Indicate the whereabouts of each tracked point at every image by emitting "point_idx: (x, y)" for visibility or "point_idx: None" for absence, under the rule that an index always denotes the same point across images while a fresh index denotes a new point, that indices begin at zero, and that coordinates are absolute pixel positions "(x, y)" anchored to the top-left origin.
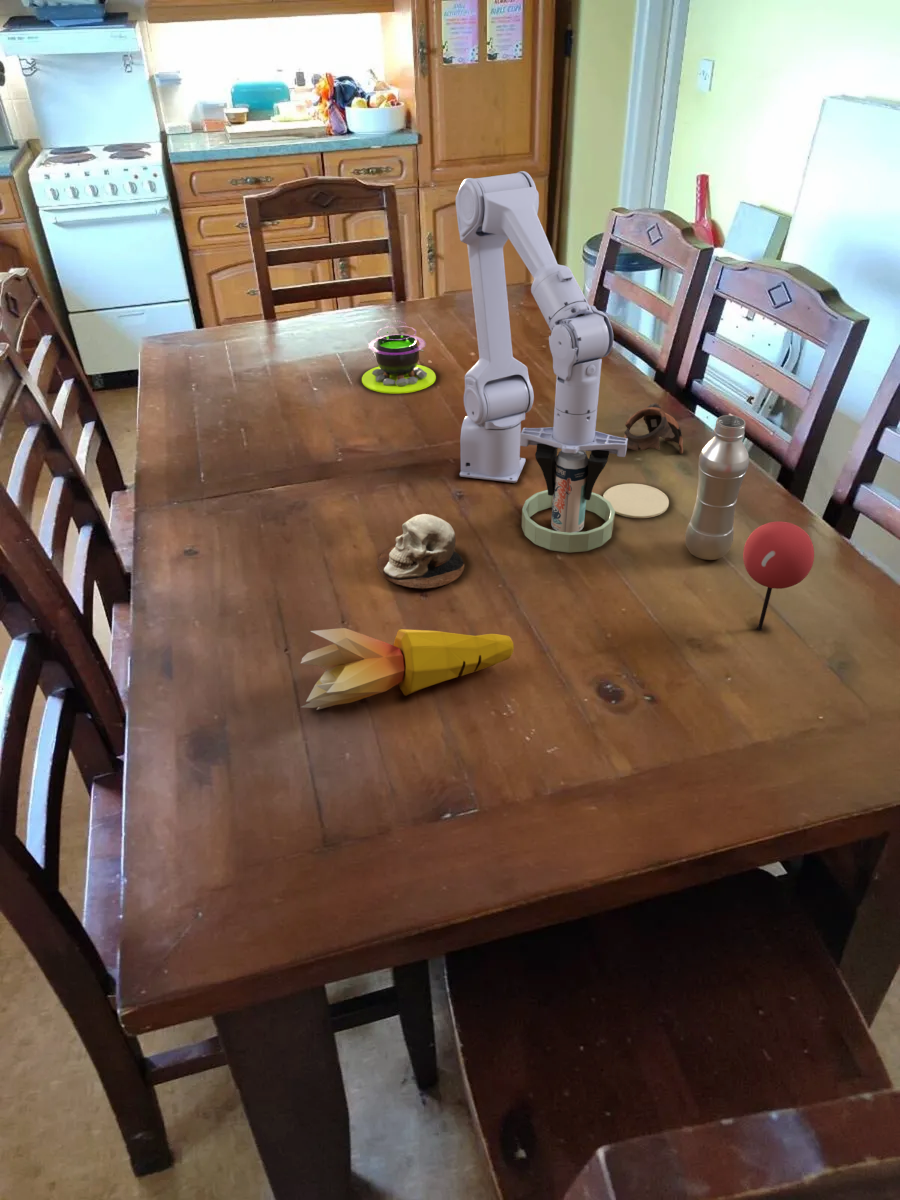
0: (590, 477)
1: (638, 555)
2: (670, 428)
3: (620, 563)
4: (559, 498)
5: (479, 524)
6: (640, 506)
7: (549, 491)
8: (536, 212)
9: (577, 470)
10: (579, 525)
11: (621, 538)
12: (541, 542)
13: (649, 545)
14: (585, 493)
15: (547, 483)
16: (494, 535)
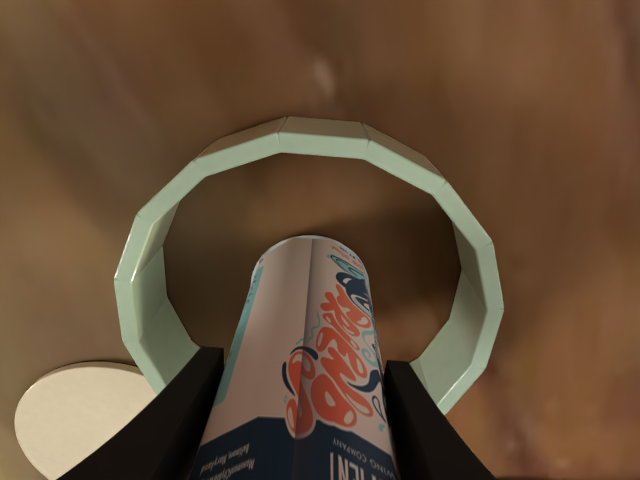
0: (141, 453)
1: (20, 142)
2: None
3: (69, 71)
4: (350, 334)
5: (635, 260)
6: (93, 414)
7: (408, 374)
8: None
9: None
10: (259, 266)
11: (111, 245)
12: (403, 147)
13: (4, 215)
14: (210, 368)
15: (434, 409)
16: (585, 196)
